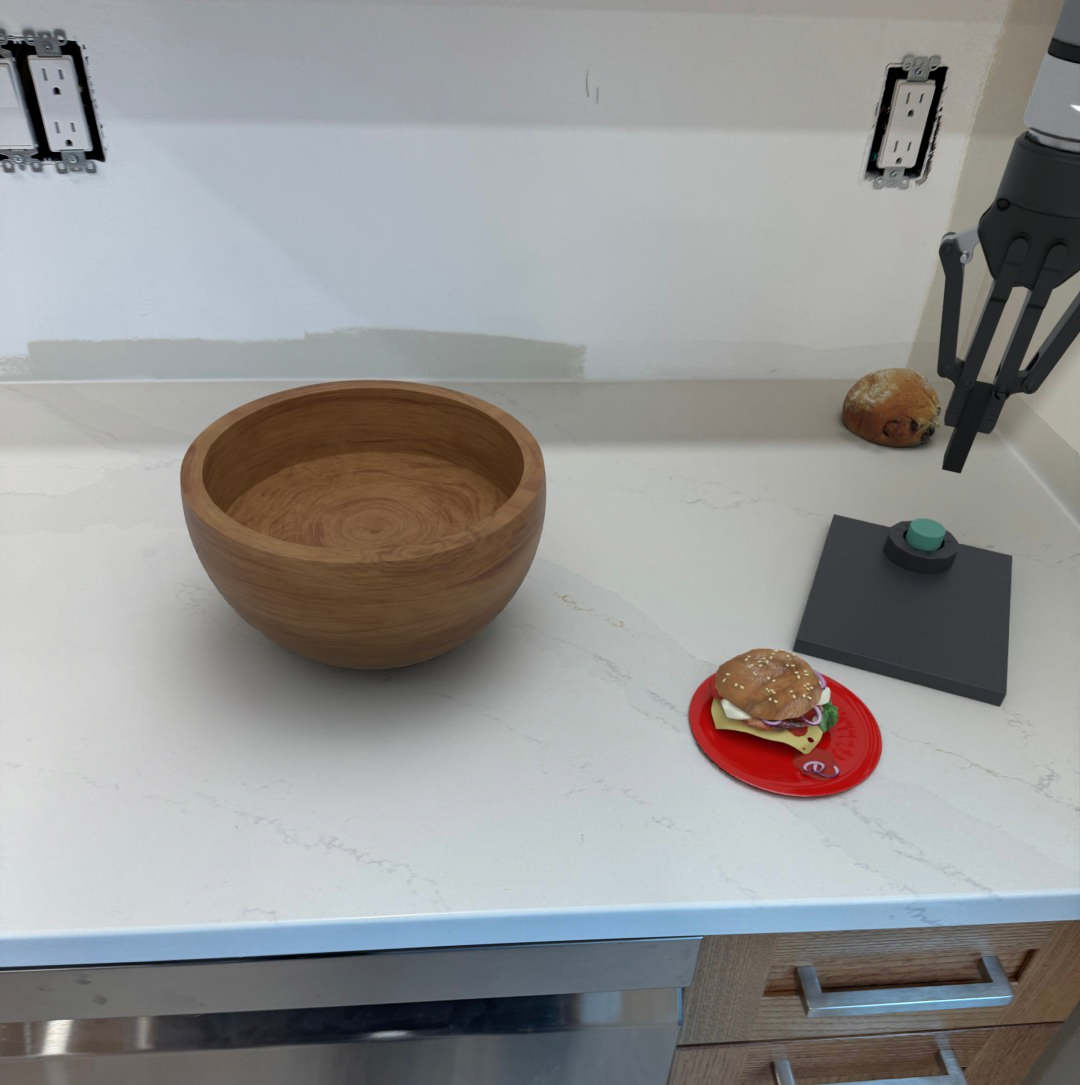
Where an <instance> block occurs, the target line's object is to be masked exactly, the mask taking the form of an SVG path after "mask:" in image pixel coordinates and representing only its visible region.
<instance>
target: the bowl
mask: <svg viewBox="0 0 1080 1085" xmlns="http://www.w3.org/2000/svg"><path fill="white" fill-rule="evenodd" d="M179 480H180V481H179V482H180V484H179V486H180V496H181V504H182V511H183V516H184V521H185V524H186V528H187V531H188V535H189V538H190V540H191V543H192V546H193V549H194V551H195V553H196V556H197V558H198V560H199V563H200V564H201V565H202V567H203V569H204V571H205V573H206V575H207V576H208V578H209V580H210V581H211V583H212V584H213V585H214V587H215V589H216V590H217V591H218V593H219V594H220V596H222V598H223V599H224V600H225V602H227V604H228V605H229V607H231V608H232V609H233V610H234V612H235V613H237V614H238V615H239V617H241V618H242V619H243V620H244V621H246V623H247V624H248V625H249V626H251V627H252V628H253V629H255V630H256V631H257V632H259V634H261V635H263V636H264V637H265V638H267V639H268V640H270V641H272V642H273V643H275V644H277V645H279V646H280V647H282V648H283V649H286V650H288V651H290V652H292V653H294V654H296V655H298V656H301V657H303V658H306V659H308V660H312V661H315V662H318V663H320V664H321V663H322V664H325V665H330V666H333V667H338V668H339V667H340V668H345V669H347V668H348V669H355V670H388V669H389V670H390V669H398V668H403V667H408V666H413V665H416V664H420V663H424V662H426V661H430V660H432V659H435V658H439V657H440V656H442V655H445V654H446V653H449V652H450V651H453V650H455V649H457V648H458V647H460V646H461V645H463V644H465V643H467V642H468V641H469V640H471V639H472V638H474V637H475V636H477V635H478V634H479V633H481V631H483V630H484V629H485V628H486V627H488V626H489V625H490V624H491V623H492V622H493V621H494V620H495V619H496V618H498V616H499V615H500V614H501V613H502V612H503V610H504V609H505V608H506V607H507V605H508V604H509V603H510V602H511V601H512V599H514V597H515V595H516V593H517V592H518V590H519V589H520V587H521V586H522V584H523V582H524V580H525V579H526V577H527V575H528V573H529V571H530V569H531V566H532V564H533V561H534V560H535V557H536V554H537V551H538V548H539V545H540V542H541V537H542V535H543V534H542V533H543V529H544V524H545V518H546V508H547V475H546V468H545V460H544V455H543V453H542V449H541V447H540V445H539V443H538V441H537V439H536V438H535V437H534V435H533V434H532V432H531V431H530V430H529V429H528V428H527V427H526V426H525V425H524V424H523V423H521V421H519V420H518V419H517V418H516V417H514V416H513V415H511V414H510V413H508V412H507V411H505V410H504V409H502V408H501V407H498V406H496V405H495V404H493V403H491V402H488V401H486V400H484V399H481V398H479V397H476V396H473V395H470V394H468V393H464V392H461V391H458V390H454V389H451V388H447V387H443V386H437V385H433V384H428V383H427V384H426V383H421V382H413V381H403V380H389V379H353V380H352V379H351V380H338V381H329V382H322V383H316V384H315V383H314V384H309V385H304V386H303V385H302V386H298V387H293V388H289V389H286V390H282V391H278V392H274V393H271V394H268V395H265V396H262V397H259V398H257V399H254V400H252V401H249V402H247V403H244V404H243V405H241V406H239V407H237V408H234V409H233V410H230V411H228V412H227V413H225V414H223V415H222V416H220V417H219V418H217V419H216V420H215V421H213V422H212V423H210V424H209V425H208V426H207V427H205V428H204V429H203V430H202V431H201V432H200V433H199V434H198V435H197V436H196V438H194V440H193V441H192V442H191V444H190V445H189V447H188V448H187V450H186V452H185V454H184V456H183V459H182V461H181V466H180V471H179Z"/></svg>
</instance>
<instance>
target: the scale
mask: <svg viewBox="0 0 1080 1085" xmlns="http://www.w3.org/2000/svg"><path fill="white" fill-rule="evenodd" d="M912 521H913V520H902V521H898V522H897V523H895V524H893V525H891V526H887V525H882V524H878V523H874V522H869V521H865V520H861V519H857V518H853V517H848V516H844V515H839V514H837V513H836V514H835V513H833V514H832V517H831V522H830V525H829V529H828V532H827V535H826V538H825V541H824V544H823V548H822V552H821V554H820V558H819V562H818V565H817V568H816V571H815V575H814V577H813V582H812V585H811V587H810V591H809V594H808V597H807V601H806V604H805V608H804V611H803V614H802V616H801V617H802V618H801V621H800V624H799V628H798V630H797V634H796V637H795V641H794V644H793V647H792V650H791V651H792V652H794V653H796V654H801V655H805V656H809V657H813V658H817V659H820V660H823V661H826V662H827V661H828V662H831V663H835V664H838V665H843V666H847V667H850V668H854V669H856V670H860V671H861V670H862V671H865V672H868V673H873V674H876V675H880V676H883V677H888V678H891V679H893V680H899V681H902V682H906V683H909V684H912V685H913V684H914V685H917V686H921V687H924V688H928V689H932V690H935V691H939V692H943V693H946V694H951V695H955V696H958V697H963V698H965V699H969V700H973V701H977V702H981V703H984V704H988V705H992V706H994V707H1001V705H1002V704H1003V702H1004V700H1005V698H1006V696H1007V694H1008V693H1007V691H1008V690H1007V689H1008V670H1009V668H1008V666H1009V644H1010V621H1011V600H1012V599H1011V597H1012V596H1011V595H1012V578H1013V577H1012V576H1013V574H1012V572H1013V570H1012V569H1013V555H1011V554H1007V553H1003V552H998V551H993V550H990V549H986V548H981V547H977V546H972V545H968V544H964V543H960V542H959V541H958V540H957V539H956V537H955V536H954V535H953V534H952V532H950V531H949V530H947V529H945V530H946V533H945V536H944V538H943V541H942V543H941V546H940V548H939V549H938V550H935V551H926V550H922V549H918V548H915V547H913V546H911V545H909V544H908V543H907V542H906V539H905V538H906V535H907V532H908V529H909V527H910V524H911V522H912Z"/></svg>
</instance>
